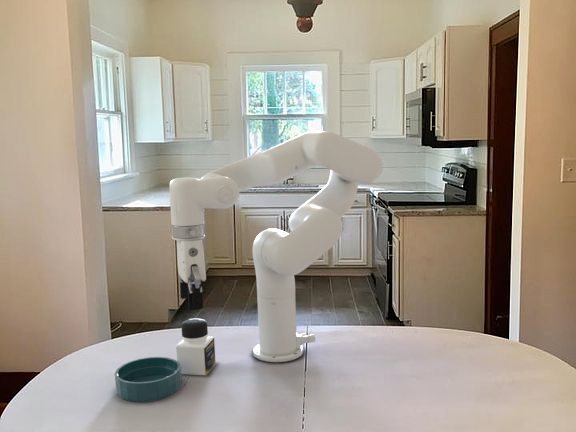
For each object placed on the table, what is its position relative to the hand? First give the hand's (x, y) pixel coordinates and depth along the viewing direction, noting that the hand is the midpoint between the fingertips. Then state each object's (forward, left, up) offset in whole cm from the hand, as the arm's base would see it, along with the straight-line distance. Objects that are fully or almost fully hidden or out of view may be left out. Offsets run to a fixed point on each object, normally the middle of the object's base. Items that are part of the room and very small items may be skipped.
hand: (191, 303), depth 141 cm
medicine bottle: (0, 0, -17) cm, 17 cm away
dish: (+12, +6, -16) cm, 21 cm away
